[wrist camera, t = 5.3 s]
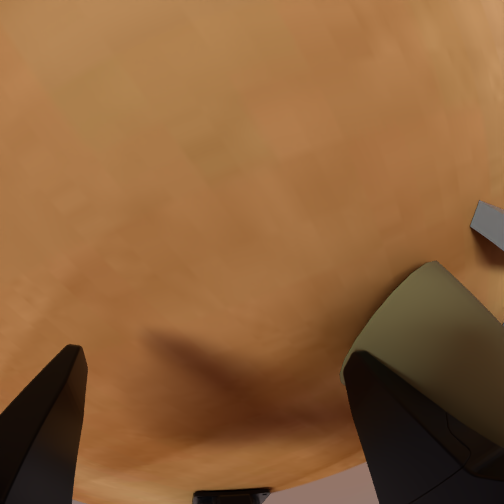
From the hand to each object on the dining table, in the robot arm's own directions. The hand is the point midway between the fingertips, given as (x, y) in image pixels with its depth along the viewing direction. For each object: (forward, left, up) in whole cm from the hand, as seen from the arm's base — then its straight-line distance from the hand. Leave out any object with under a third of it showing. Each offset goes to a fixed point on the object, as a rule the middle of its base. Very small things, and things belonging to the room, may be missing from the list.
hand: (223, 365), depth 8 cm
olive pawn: (0, -7, -2) cm, 7 cm away
